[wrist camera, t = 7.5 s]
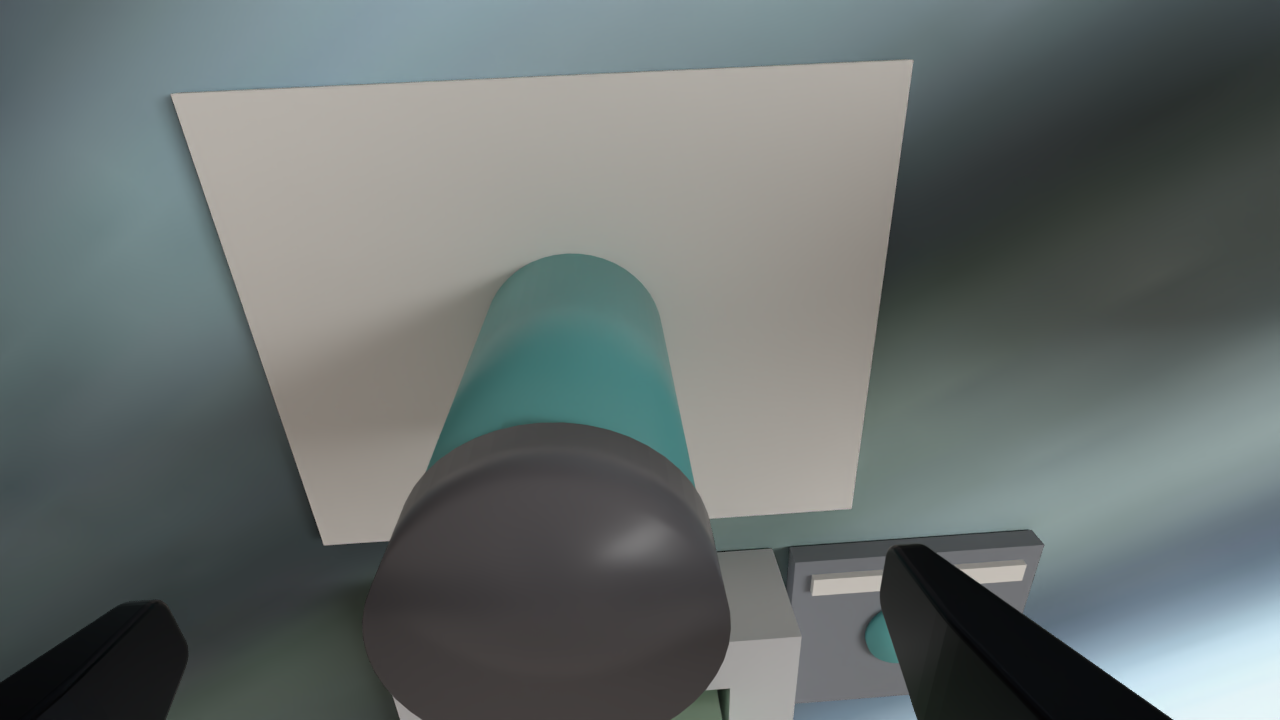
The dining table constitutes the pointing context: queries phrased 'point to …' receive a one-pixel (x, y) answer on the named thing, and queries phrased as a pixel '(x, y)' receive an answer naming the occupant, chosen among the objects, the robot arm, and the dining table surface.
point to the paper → (562, 224)
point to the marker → (555, 522)
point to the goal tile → (851, 612)
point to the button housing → (750, 641)
